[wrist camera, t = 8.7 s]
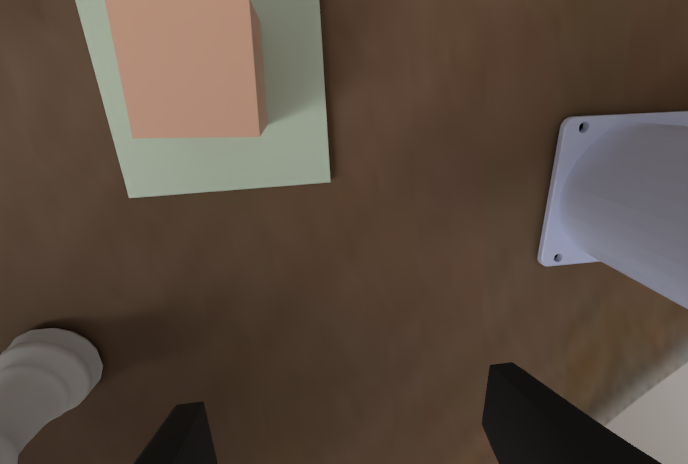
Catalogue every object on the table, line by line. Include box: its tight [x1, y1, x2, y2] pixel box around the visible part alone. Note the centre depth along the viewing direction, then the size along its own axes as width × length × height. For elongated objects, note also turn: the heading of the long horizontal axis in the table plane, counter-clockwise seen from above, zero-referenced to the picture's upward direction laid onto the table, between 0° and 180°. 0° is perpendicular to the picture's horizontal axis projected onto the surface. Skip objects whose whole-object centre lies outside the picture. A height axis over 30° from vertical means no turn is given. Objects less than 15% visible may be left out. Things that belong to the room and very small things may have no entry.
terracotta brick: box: [105, 0, 267, 138], centre depth 13 cm, size 4×4×4 cm
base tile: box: [75, 0, 331, 198], centre depth 16 cm, size 9×9×1 cm
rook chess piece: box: [0, 328, 103, 464], centre depth 15 cm, size 4×4×8 cm
